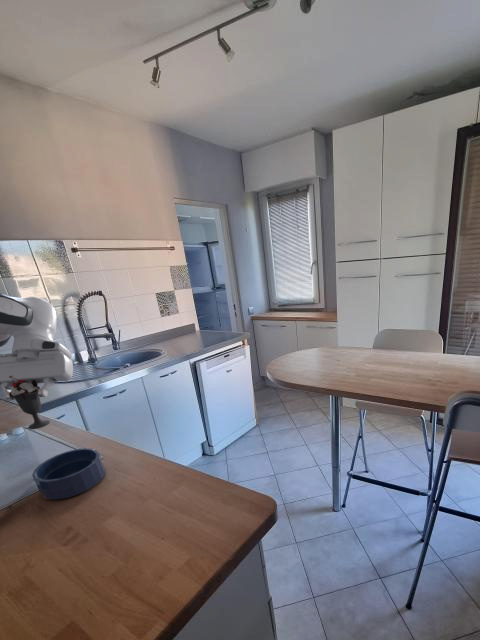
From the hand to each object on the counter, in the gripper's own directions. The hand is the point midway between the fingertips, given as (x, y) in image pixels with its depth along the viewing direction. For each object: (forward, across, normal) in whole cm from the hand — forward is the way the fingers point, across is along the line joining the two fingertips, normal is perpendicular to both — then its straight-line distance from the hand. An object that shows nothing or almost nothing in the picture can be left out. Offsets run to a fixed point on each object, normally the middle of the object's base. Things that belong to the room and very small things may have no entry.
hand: (26, 397), depth 87 cm
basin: (+22, +10, +8) cm, 26 cm away
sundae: (+6, 0, +6) cm, 9 cm away
